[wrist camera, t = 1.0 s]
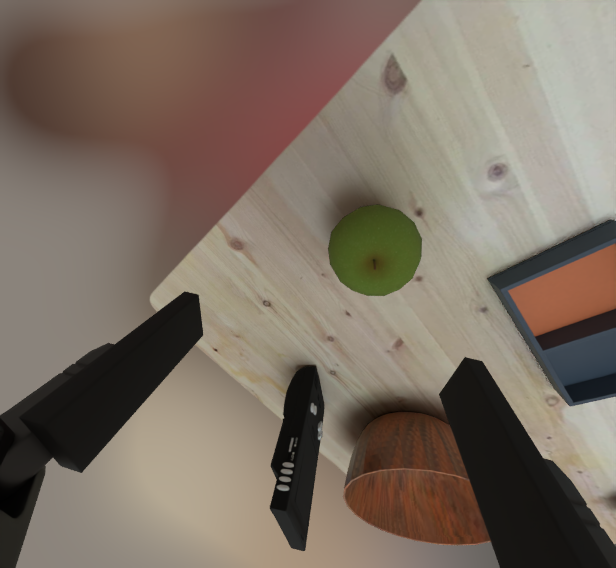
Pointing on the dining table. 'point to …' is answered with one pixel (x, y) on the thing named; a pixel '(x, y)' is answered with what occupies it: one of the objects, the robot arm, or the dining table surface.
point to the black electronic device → (298, 456)
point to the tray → (569, 312)
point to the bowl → (413, 481)
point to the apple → (375, 250)
